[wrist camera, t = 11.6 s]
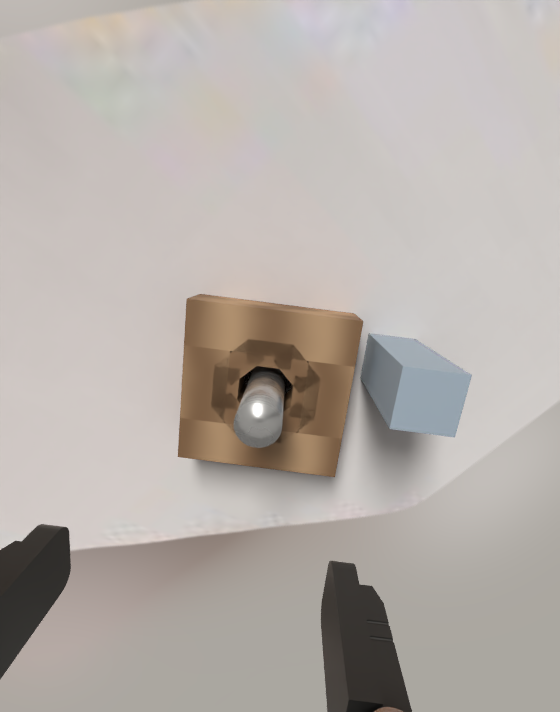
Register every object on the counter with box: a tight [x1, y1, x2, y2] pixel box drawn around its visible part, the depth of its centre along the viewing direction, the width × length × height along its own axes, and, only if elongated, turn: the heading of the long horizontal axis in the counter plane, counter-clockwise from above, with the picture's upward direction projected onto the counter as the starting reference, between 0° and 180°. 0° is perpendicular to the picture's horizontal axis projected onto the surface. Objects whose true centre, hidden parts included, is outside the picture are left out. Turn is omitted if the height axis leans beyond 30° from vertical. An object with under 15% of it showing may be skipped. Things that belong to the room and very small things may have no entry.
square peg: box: [360, 333, 472, 437], centre depth 26 cm, size 4×4×10 cm
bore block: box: [178, 294, 363, 477], centre depth 30 cm, size 13×13×4 cm
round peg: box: [234, 366, 286, 448], centre depth 27 cm, size 3×3×10 cm
